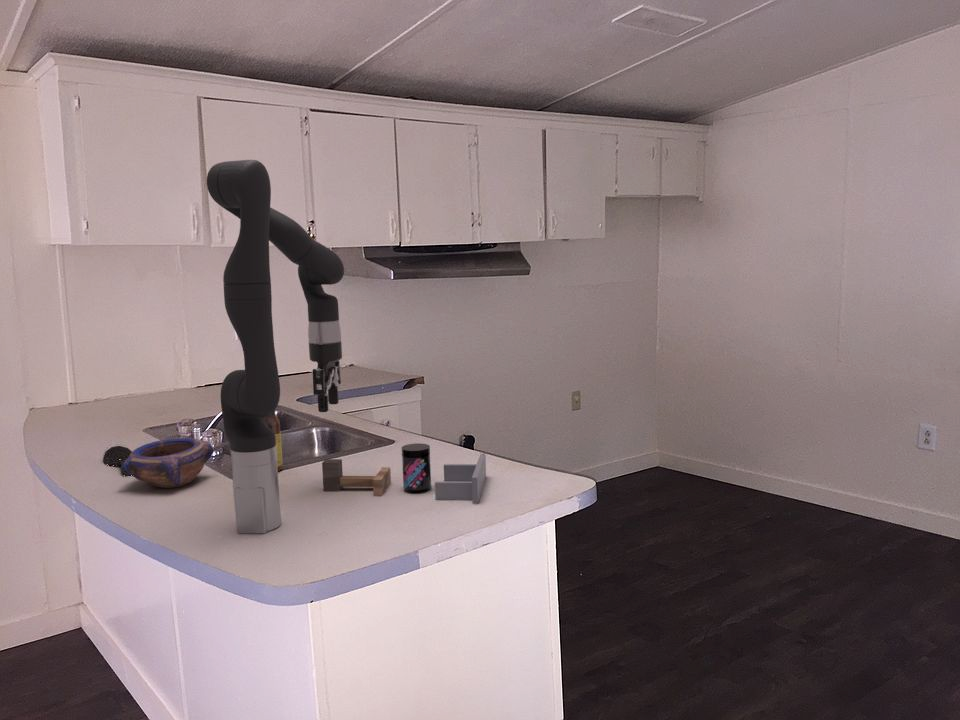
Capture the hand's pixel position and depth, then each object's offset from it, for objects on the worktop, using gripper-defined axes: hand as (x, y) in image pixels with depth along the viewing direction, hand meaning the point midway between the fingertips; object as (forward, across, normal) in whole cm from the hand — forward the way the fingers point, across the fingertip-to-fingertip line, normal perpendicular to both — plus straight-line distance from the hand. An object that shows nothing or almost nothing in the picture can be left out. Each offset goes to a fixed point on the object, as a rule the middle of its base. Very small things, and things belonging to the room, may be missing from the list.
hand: (328, 407), depth 191 cm
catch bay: (+20, 0, +31) cm, 37 cm away
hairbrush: (+21, -20, -64) cm, 71 cm away
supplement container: (+20, 0, +20) cm, 29 cm away
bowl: (+20, -4, -43) cm, 48 cm away
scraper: (+20, 0, +6) cm, 21 cm away
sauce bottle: (+20, -15, -21) cm, 33 cm away
